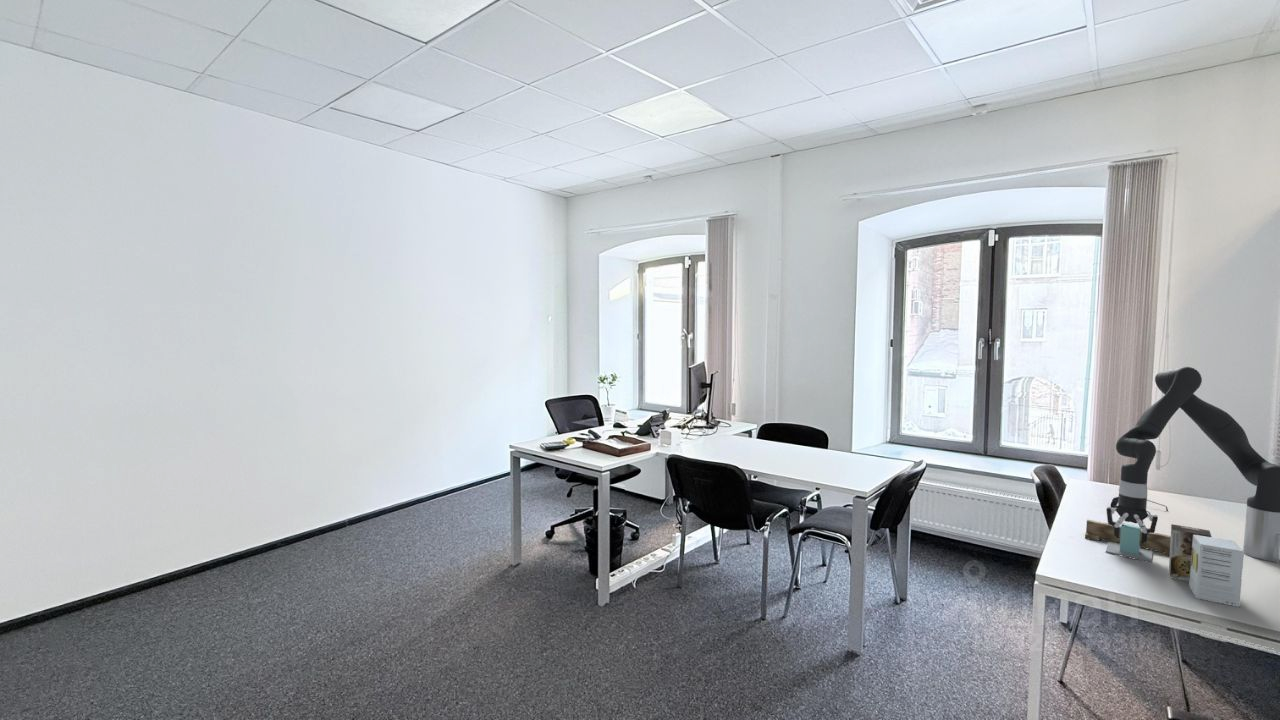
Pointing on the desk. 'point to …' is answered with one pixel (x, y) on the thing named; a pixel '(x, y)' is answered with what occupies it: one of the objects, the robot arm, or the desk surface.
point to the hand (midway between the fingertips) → (1129, 539)
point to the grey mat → (1143, 553)
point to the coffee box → (1182, 550)
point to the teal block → (1130, 538)
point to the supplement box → (1216, 570)
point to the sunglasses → (1115, 500)
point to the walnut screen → (1106, 532)
